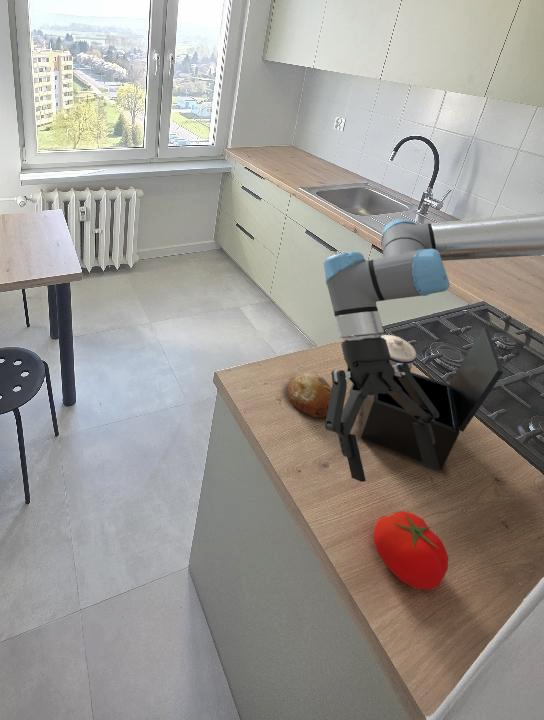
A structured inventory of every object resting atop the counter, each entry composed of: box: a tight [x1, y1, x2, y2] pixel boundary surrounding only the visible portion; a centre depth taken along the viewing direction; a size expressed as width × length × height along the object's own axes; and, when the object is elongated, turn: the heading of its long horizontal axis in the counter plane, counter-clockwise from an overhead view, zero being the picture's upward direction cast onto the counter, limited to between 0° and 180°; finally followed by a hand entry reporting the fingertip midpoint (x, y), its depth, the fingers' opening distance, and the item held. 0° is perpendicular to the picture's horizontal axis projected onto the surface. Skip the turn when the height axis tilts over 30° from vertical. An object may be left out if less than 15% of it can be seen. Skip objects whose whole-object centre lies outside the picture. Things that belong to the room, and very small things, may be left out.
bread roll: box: [287, 372, 332, 418], centre depth 95 cm, size 10×10×8 cm
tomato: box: [373, 510, 449, 591], centre depth 66 cm, size 9×10×8 cm
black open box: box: [360, 371, 461, 471], centre depth 87 cm, size 15×13×11 cm
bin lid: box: [449, 326, 504, 432], centre depth 79 cm, size 16×13×1 cm
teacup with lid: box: [381, 334, 417, 371], centre depth 103 cm, size 12×9×12 cm
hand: (396, 473), depth 68 cm, fingers open, 13 cm apart
